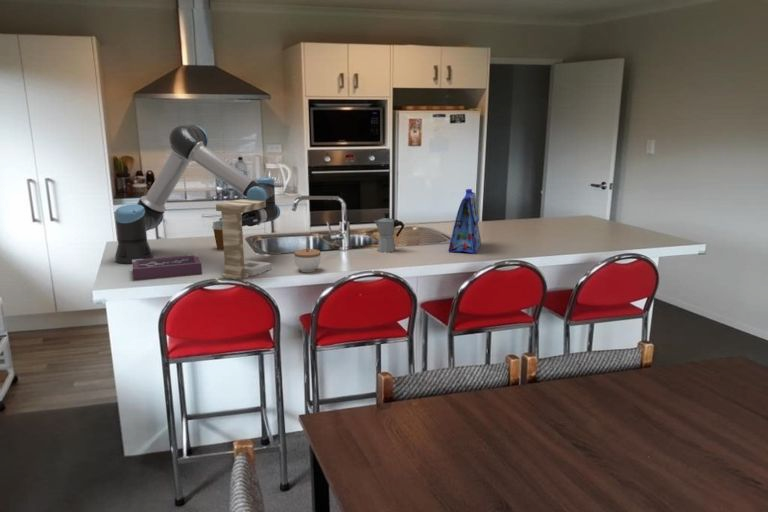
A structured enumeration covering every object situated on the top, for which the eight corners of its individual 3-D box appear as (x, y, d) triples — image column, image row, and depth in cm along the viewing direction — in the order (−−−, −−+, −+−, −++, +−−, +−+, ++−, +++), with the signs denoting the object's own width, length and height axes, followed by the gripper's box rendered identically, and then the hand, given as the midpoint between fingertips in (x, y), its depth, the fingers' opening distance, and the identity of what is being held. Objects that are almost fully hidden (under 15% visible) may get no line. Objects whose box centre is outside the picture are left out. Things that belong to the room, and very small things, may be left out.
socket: (253, 276, 228) (253, 270, 228) (229, 272, 233) (228, 266, 232) (271, 269, 239) (271, 263, 238) (247, 265, 244) (247, 260, 243)
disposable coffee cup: (228, 251, 270) (227, 225, 267) (209, 250, 272) (208, 225, 269) (237, 246, 279) (236, 222, 276) (219, 245, 281) (217, 221, 278)
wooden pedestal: (243, 280, 222) (239, 206, 216) (218, 276, 227) (214, 204, 220) (268, 270, 237) (265, 201, 230) (244, 267, 242) (240, 199, 235)
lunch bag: (476, 254, 267) (479, 192, 260) (447, 252, 270) (449, 190, 263) (481, 244, 287) (484, 186, 280) (454, 243, 291) (456, 185, 284)
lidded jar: (296, 274, 231) (296, 251, 229) (293, 267, 241) (292, 245, 239) (323, 272, 234) (322, 250, 232) (318, 266, 244) (318, 244, 242)
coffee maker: (370, 251, 271) (370, 213, 266) (376, 247, 279) (376, 210, 275) (401, 254, 266) (401, 215, 262) (406, 249, 275) (406, 212, 270)
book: (198, 265, 245) (197, 254, 244) (202, 275, 231) (201, 262, 230) (133, 271, 236) (131, 259, 235) (133, 281, 221) (132, 269, 220)
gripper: (270, 226, 248) (236, 236, 227) (238, 223, 254) (202, 233, 234) (270, 209, 246) (235, 217, 225) (237, 206, 253) (200, 214, 232)
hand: (218, 225), depth 229 cm, fingers closed on peg, 4 cm apart
